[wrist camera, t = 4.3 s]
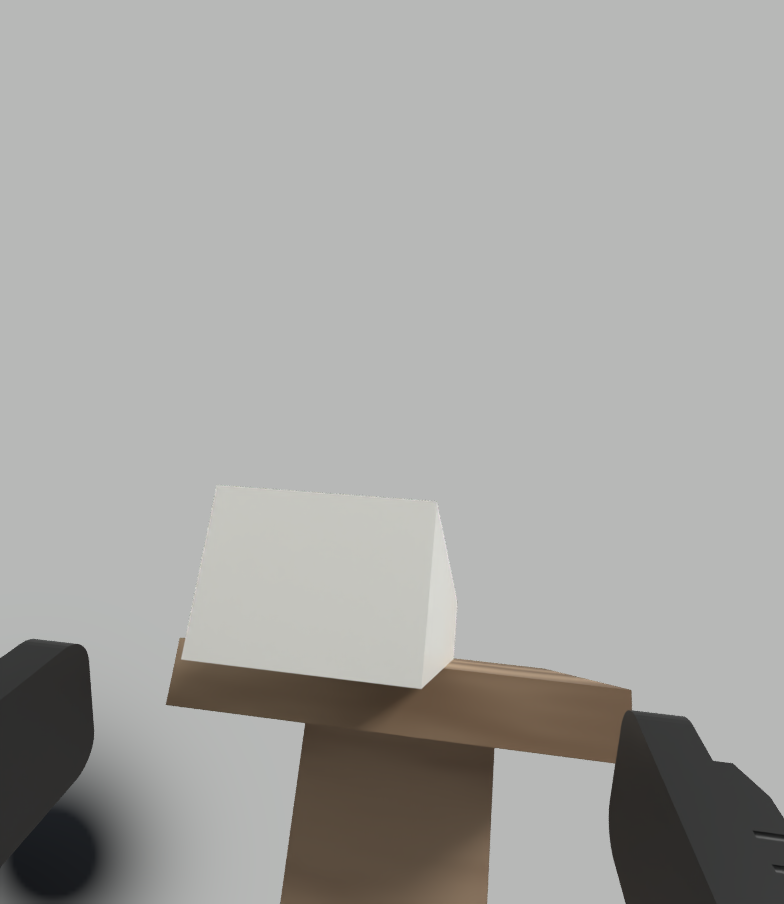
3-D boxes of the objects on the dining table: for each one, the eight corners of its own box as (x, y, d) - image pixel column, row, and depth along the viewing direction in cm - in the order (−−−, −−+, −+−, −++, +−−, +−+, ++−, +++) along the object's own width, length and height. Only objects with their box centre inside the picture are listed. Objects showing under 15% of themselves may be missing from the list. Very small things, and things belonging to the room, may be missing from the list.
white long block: (387, 650, 35) (393, 585, 36) (454, 658, 34) (459, 592, 35) (180, 659, 10) (224, 443, 11) (421, 689, 9) (441, 457, 10)
